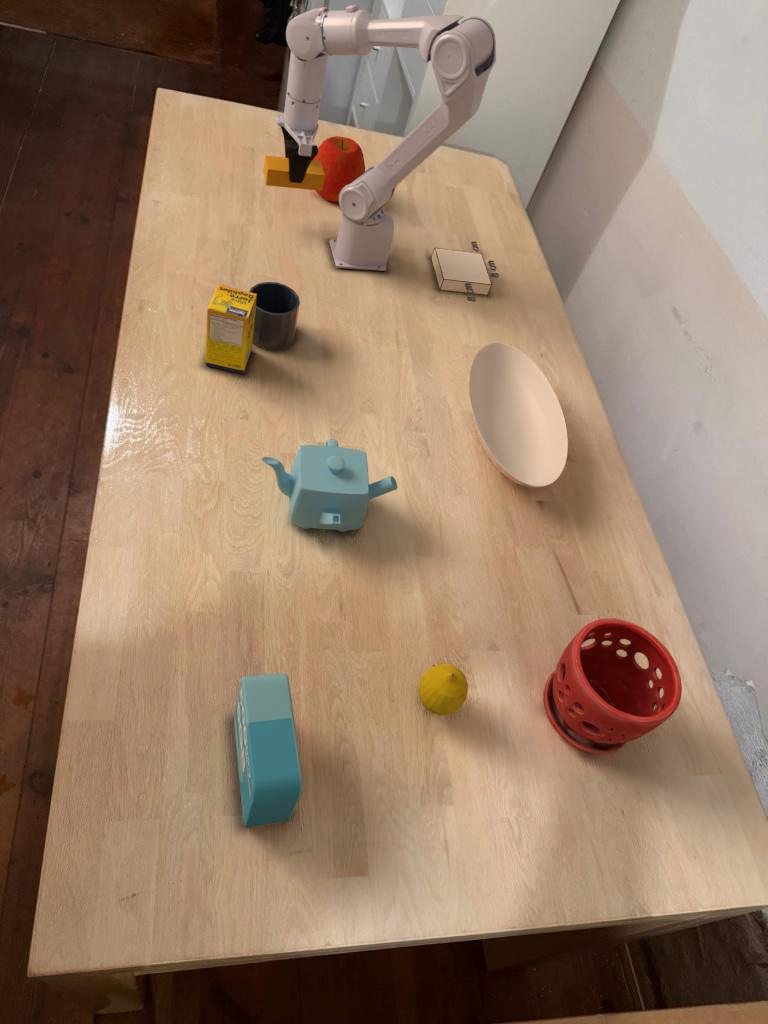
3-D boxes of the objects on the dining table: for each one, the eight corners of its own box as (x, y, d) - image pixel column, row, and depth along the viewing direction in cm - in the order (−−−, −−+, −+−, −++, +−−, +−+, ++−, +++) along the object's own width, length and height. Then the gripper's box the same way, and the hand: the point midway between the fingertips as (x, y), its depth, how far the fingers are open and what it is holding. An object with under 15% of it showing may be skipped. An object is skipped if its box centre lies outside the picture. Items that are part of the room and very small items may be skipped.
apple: (337, 172, 153) (347, 120, 145) (372, 200, 150) (383, 149, 142) (297, 182, 148) (304, 129, 139) (331, 212, 144) (341, 160, 136)
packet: (318, 177, 135) (320, 161, 133) (322, 190, 133) (324, 175, 130) (263, 171, 132) (264, 155, 130) (266, 185, 130) (267, 169, 128)
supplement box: (251, 349, 116) (258, 292, 108) (243, 375, 113) (249, 318, 104) (214, 340, 116) (217, 282, 107) (204, 366, 112) (207, 308, 103)
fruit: (453, 730, 86) (475, 704, 80) (407, 718, 86) (426, 691, 80) (458, 687, 90) (480, 658, 83) (414, 675, 89) (432, 645, 83)
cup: (290, 318, 123) (296, 283, 117) (297, 350, 119) (302, 315, 113) (242, 316, 121) (246, 280, 115) (247, 349, 116) (251, 313, 111)
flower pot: (651, 749, 90) (706, 711, 81) (558, 772, 86) (605, 736, 77) (604, 652, 97) (650, 607, 88) (517, 669, 93) (555, 624, 84)
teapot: (384, 479, 107) (400, 432, 99) (390, 561, 98) (409, 517, 90) (257, 467, 103) (264, 417, 95) (253, 552, 94) (260, 505, 87)
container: (426, 241, 145) (430, 229, 143) (481, 248, 148) (485, 236, 146) (444, 309, 134) (448, 297, 132) (503, 315, 137) (508, 303, 135)
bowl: (447, 364, 125) (458, 336, 120) (530, 375, 128) (544, 348, 123) (472, 507, 107) (486, 481, 102) (567, 515, 110) (585, 490, 106)
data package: (233, 717, 81) (241, 671, 72) (274, 712, 83) (287, 666, 73) (243, 831, 75) (254, 797, 65) (288, 824, 76) (304, 790, 67)
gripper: (274, 70, 124) (266, 149, 134) (285, 114, 116) (276, 194, 126) (316, 75, 126) (305, 153, 136) (329, 119, 118) (316, 198, 128)
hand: (293, 173), depth 131 cm, fingers closed on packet, 4 cm apart
